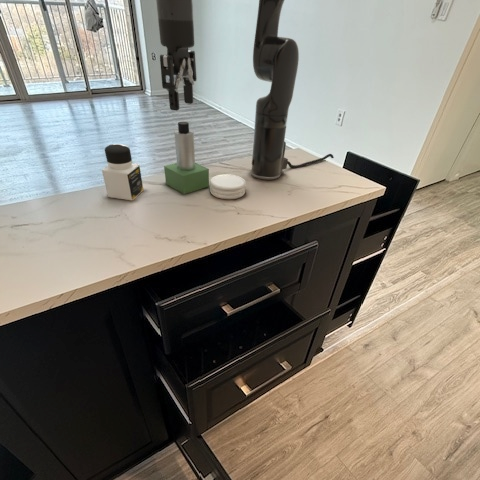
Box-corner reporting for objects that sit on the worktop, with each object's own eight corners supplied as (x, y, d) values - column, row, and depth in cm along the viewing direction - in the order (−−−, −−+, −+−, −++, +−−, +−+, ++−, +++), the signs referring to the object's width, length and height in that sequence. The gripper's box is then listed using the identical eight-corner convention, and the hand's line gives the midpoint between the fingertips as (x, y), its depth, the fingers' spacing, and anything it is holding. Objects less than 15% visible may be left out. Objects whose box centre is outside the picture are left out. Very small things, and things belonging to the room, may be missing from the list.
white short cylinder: (225, 203, 86) (225, 190, 83) (203, 191, 91) (202, 178, 88) (252, 194, 91) (253, 181, 88) (229, 183, 96) (229, 171, 93)
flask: (188, 163, 92) (185, 119, 84) (198, 168, 90) (196, 123, 82) (173, 166, 90) (169, 122, 82) (184, 172, 87) (181, 126, 79)
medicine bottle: (132, 201, 84) (123, 152, 76) (107, 197, 85) (95, 148, 76) (144, 190, 89) (136, 143, 81) (120, 187, 90) (110, 140, 81)
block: (190, 177, 98) (189, 159, 94) (209, 186, 93) (208, 168, 90) (165, 184, 93) (163, 166, 90) (184, 194, 89) (182, 175, 85)
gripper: (177, 18, 63) (184, 114, 74) (204, 18, 72) (206, 102, 84) (143, 16, 64) (155, 110, 75) (174, 16, 74) (180, 99, 85)
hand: (182, 106), depth 80 cm, fingers open, 8 cm apart
